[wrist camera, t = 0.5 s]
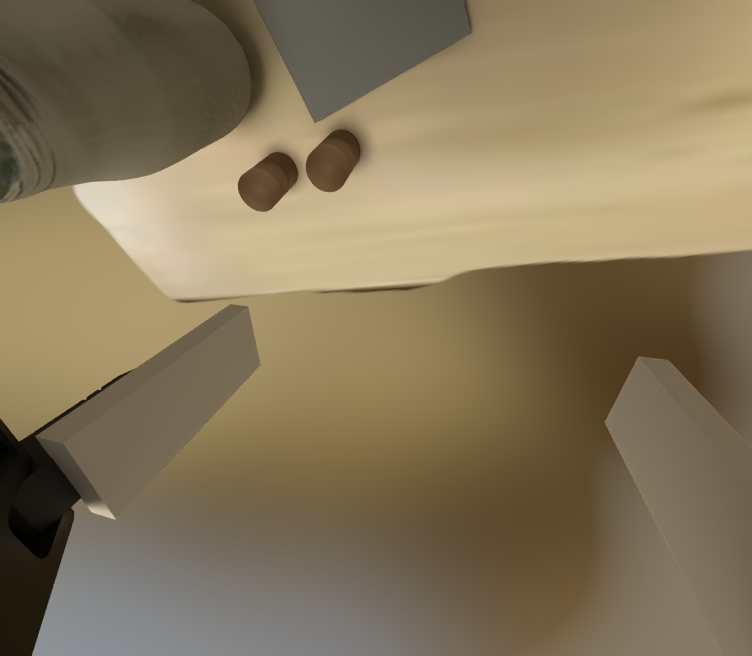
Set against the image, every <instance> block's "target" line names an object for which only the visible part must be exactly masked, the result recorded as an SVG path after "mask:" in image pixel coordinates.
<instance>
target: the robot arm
mask: <svg viewBox="0 0 752 656" xmlns="http://www.w3.org/2000/svg"><path fill="white" fill-rule="evenodd" d="M259 366H260V361H259V356H258V352H257V346H256V341H255V337H254V332H253V327H252V322H251V318H250V313H249V308H248V306H240V305H232V304H230V305H229V306H227V307H226V308H224V309H223V310H221V311H220V312H218V313H217V314H215V315H214V316H212V317H211V318H210V319H208V320H207V321H205V322H204V323H202V324H201V325H199V326H198V327H196V328H195V329H193V330H192V331H190V332H189V333H187V334H186V335H184V336H183V337H182V338H180V339H179V340H177V341H175V342H174V343H173V344H171V345H170V346H168V347H167V348H165V349H164V350H162V351H161V352H159V353H158V354H156V355H155V356H153V357H152V358H150V359H149V360H147V361H146V362H145V363H143V364H141V365H140V366H139V367H137V368H135V369H133V370H131V371H129V372H127V373H124V374H122V375H120V376H118V377H116V378H115V379H113V380H112V381H111V382H109V383H107V384H106V385H104V386H103V387H102V388H101V390H97V391H95V392H94V393H92V394H91V395H89V396H88V397H87V399H86V400H82V401H80V402H79V403H77V404H76V405H75V406H73V407H71V408H70V409H68V410H67V411H65V412H64V413H62V414H61V415H59V416H58V417H56V418H55V419H53V420H52V421H50V422H49V423H47V424H46V425H44V426H43V427H41V428H40V429H38V430H37V431H35V432H34V433H32V434H31V435H29V436H28V437H26V438H24V439H23V440H21V441H18V440H17V439H16V438H15V436H14V435H13V434H12V433H11V432H10V430H9V429H8V428H7V426H6V425H5V424H4V422H3V421H2V420H1V419H0V656H32V653H33V650H34V647H35V643H36V640H37V637H38V634H39V631H40V627H41V624H42V621H43V618H44V614H45V611H46V608H47V604H48V601H49V598H50V595H51V592H52V589H53V585H54V582H55V579H56V576H57V572H58V569H59V566H60V563H61V559H62V556H63V553H64V549H65V546H66V543H67V540H68V536H69V534H70V530H71V527H72V524H73V521H74V511H73V510H72V508H71V507H72V506H73V505H74V504H75V503H76V502H77V501H78V500H79V499H80V498H82V500H83V501H84V503H85V504H86V505H87V507H88V508H89V509H90V511H91V512H93V513H96V514H99V515H102V516H106V517H109V518H112V519H115V520H116V519H117V518H118V517H119V516H120V515H121V514H122V513H123V512H124V511H125V509H127V507H128V506H129V505H130V504H131V503H132V502H133V501H134V500H135V499H136V498H137V497H138V496H139V495H140V493H141V492H142V491H143V490H144V489H145V488H146V487H147V486H148V485H149V484H150V483H151V482H152V481H153V480H154V479H155V477H156V476H157V475H158V474H159V473H160V472H161V471H162V470H163V469H164V468H165V467H166V466H167V465H168V464H169V462H170V461H171V460H172V459H173V458H174V457H175V456H176V455H177V454H178V453H179V452H180V451H181V450H182V449H183V447H184V446H185V445H186V444H187V443H188V442H189V441H190V440H191V439H192V438H193V436H195V435H196V433H197V432H198V431H199V430H200V429H201V428H202V427H203V426H204V425H205V424H206V423H207V422H208V421H209V420H210V418H211V417H212V416H213V415H214V414H215V413H216V412H217V411H218V410H219V409H220V408H221V407H222V406H223V404H225V402H226V401H227V400H228V399H229V398H230V397H231V396H232V395H233V394H234V393H235V392H236V390H238V388H239V387H240V386H241V385H242V384H243V383H244V382H245V381H246V380H247V379H248V378H249V377H250V376H251V374H253V372H254V371H255V370H256V369H257V368H258V367H259ZM605 424H606V426H607V428H608V430H609V432H610V434H611V435H612V438H613V440H614V441H615V443H616V446H617V448H618V450H619V452H620V453H621V456H622V458H623V460H624V462H625V464H626V465H627V467H628V469H629V471H630V473H631V475H632V477H633V479H634V481H635V483H636V485H637V487H638V489H639V491H640V493H641V495H642V497H643V499H644V501H645V503H646V505H647V507H648V509H649V511H650V513H651V515H652V517H653V519H654V521H655V523H656V525H657V527H658V529H659V531H660V533H661V535H662V536H663V539H664V541H665V543H666V545H667V547H668V548H669V550H670V552H671V554H672V556H673V558H674V560H675V562H676V564H677V566H678V568H679V570H680V572H681V574H682V576H683V578H684V580H685V582H686V584H687V586H688V588H689V590H690V592H691V594H692V596H693V598H694V600H695V602H696V604H697V606H698V608H699V610H700V612H701V614H702V616H703V618H704V620H705V621H706V624H707V625H708V627H709V630H710V632H711V633H712V635H713V637H714V639H715V641H716V643H717V645H718V647H719V649H720V651H721V653H722V655H723V656H752V448H751V447H750V446H749V445H748V444H747V443H746V442H745V441H744V440H743V439H742V438H741V436H740V435H739V434H738V433H737V432H736V431H735V430H734V429H733V428H732V427H731V426H730V425H729V424H728V423H727V422H726V421H725V420H724V419H723V418H722V417H721V415H720V414H719V413H718V412H717V411H716V410H715V409H714V408H713V407H712V406H711V405H710V404H709V403H708V402H707V401H706V400H705V398H704V397H703V396H702V395H701V394H700V393H699V392H698V391H697V390H696V389H695V388H694V387H693V386H692V385H691V384H690V383H689V382H688V381H687V380H686V378H685V377H684V376H683V375H682V374H681V373H680V372H679V371H678V370H677V369H676V368H675V367H674V366H673V365H672V364H671V363H670V362H669V361H668V360H661V359H654V358H646V357H638V359H637V361H636V363H635V365H634V367H633V369H632V371H631V373H630V375H629V377H628V378H627V380H626V382H625V384H624V386H623V388H622V390H621V392H620V394H619V396H618V398H617V400H616V402H615V404H614V406H613V408H612V410H611V412H610V413H609V415H608V418H607V419H606V421H605Z"/></svg>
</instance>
